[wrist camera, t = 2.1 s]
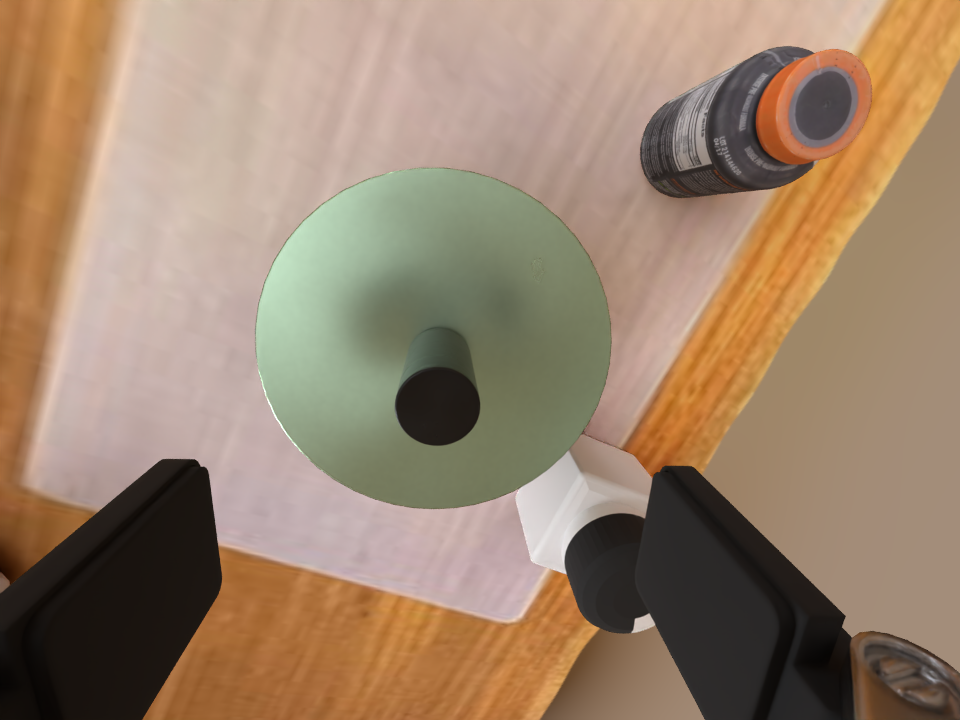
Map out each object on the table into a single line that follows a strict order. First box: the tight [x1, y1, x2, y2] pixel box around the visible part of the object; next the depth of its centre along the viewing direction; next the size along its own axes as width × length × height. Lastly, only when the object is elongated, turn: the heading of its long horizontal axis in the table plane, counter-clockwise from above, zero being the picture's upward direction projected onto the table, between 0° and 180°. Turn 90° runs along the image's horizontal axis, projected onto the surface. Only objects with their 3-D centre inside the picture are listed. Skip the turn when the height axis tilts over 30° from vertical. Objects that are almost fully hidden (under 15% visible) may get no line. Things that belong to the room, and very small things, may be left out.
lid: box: [255, 168, 612, 509], centre depth 18 cm, size 16×16×7 cm
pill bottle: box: [640, 46, 872, 198], centre depth 23 cm, size 6×6×11 cm
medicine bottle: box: [515, 434, 655, 633], centre depth 29 cm, size 7×7×12 cm
